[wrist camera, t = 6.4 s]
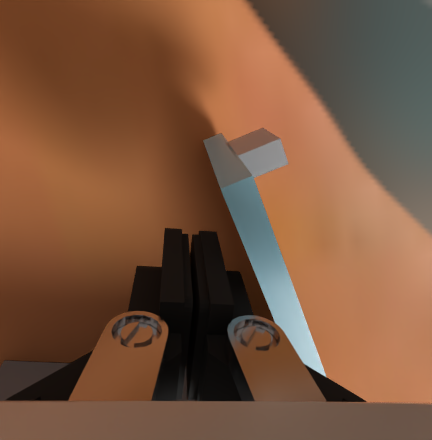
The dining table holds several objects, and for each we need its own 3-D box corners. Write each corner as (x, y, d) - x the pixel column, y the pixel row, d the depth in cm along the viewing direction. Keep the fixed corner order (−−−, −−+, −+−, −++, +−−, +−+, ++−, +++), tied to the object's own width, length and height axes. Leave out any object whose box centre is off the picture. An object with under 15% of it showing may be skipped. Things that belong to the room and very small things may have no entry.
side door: (334, 362, 20) (411, 504, 13) (295, 376, 20) (351, 524, 14) (250, 120, 15) (307, 154, 8) (198, 142, 15) (212, 193, 8)
